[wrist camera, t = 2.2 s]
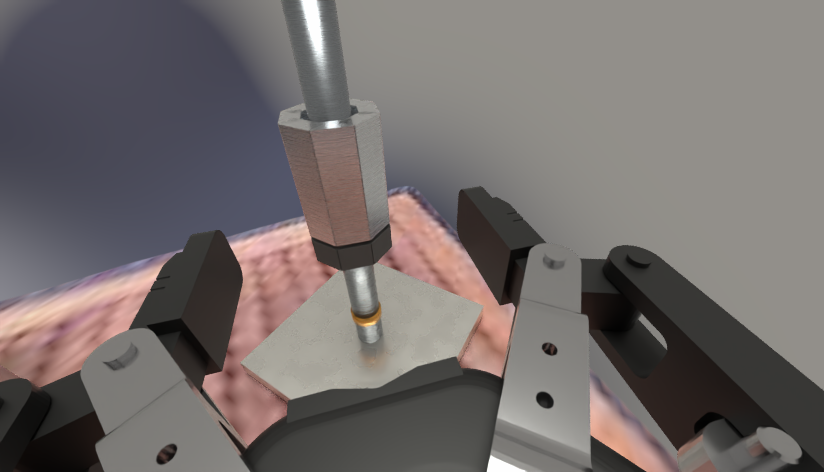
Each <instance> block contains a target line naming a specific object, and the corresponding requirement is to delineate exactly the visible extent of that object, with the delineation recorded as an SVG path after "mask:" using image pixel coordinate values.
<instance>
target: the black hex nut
mask: <svg viewBox="0 0 824 472" xmlns="http://www.w3.org/2000/svg"><path fill="white" fill-rule="evenodd" d="M311 238H312V243H313V246H314V250H315V253H316V257H317V260H318V261H320V262H322V263H324V264H327V265H329V266H331V267H333V268H336V269H338V270H340V271H345V270H350V269H356V268H361V267H366V266H371V265H374V264H376V263H377V262H378V260H379V259H380V258H381V257H382V256H383V255H384V254H385V253H386V252H387V251H388V250H389V249H390V248H391V247H392V241H391V230H390V224H388V225H387V226H386V227H385V228H383V229H382V230H381V231H380V232H379V233H378V234H377V235H376V236H375V237H374V238H373V239H372V240H370V241H364V242H359V243H353V244H348V245H342V246H337V245H336V246H333V245H331V244H328V243H326V242H323V241H321V240H318V239H316V238H314V237H311Z"/></svg>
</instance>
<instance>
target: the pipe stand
mask: <svg viewBox="0 0 824 472" xmlns="http://www.w3.org/2000/svg"><path fill="white" fill-rule="evenodd" d="M281 2H282V6H283V11H284V15H285V19H286V24H287V28H288V33H289V37H290V41H291V46H292V50H293V54H294V59H295V63H296V67H297V72H298V76H299V80H300V85H301V89H302V94H303V98H304V103H305V107H306V111H307V116H308V120H309V121H313V122H318V123H319V122H328V121H337V120H344V119H346V118H348V117H350V116H352V114H351V107H350V100H349V93H348V86H347V79H346V73H345V66H344V59H343V52H342V45H341V38H340V31H339V24H338V17H337V10H336V3H335V0H281ZM483 308H484V306H483V305H480V304H478V303H475V302H473V301H470V300H468V299H465V298H463V297H460V296H458V295H456V294H453V293H451V292H448V291H446V290H443V289H441V288H438V287H436V286H433V285H431V284H428V283H426V282H424V281H421V280H419V279H416V278H414V277H411V276H409V275H406V274H404V273H401V272H399V271H396V270H394V269H391V268H389V267H387V266H384V265H382V264H379V263H376V264H374V265H371V266H366V267H361V268H356V269H350V270H345V271H340V270H339V271H338V272H337V273H336V274H335V275H333V276H332V277H331V278H330V279H329V280H328V281H327V282H326V283H325V284H324V285H323V286H322V287H321V288H320V289H319V290H317V291H316V292H315V293H314V294H313V295H312V296H311V297H310V298H309V299H308V300H307V301H306V302H305V303H304V304H302V305H301V306H300V307H299V308H298V309H297V310H296V311H295V312H294V313H293V314H292V315H291V316H290V317H289V318H288V319H286V320H285V321H284V322H283V323H282V324H281V325H280V326H279V327H278V328H277V329H276V330H275V331H274V332H273V333H271V334H270V335H269V336H268V337H267V338H266V339H265V340H264V341H263V342H262V343H261V344H260V345H259V346H258V347H256V348H255V349H254V350H253V351H252V352H251V353H250V354H249V355H248V356H247V357H246V358H245V359H244V360H243V361H242V362H240V363H241V365H242V366H243V368H244V369H245V371H246V372H247V373H248V374H249V375H250V376H252V377H253V378H254V379H256V380H257V381H258V382H260V383H261V384H263V385H264V386H265V387H267V388H268V389H269V390H271V391H272V392H273V393H275V394H276V395H277V396H279V397H280V398H282V399H283V400H284V401H286V402H287V403H288V400H291V399H295V398H299V397H303V396H307V395H310V394H314V393H318V392H322V391H326V390H329V389H360V388H378V387H381V386H383V385H385V384H386V383H388V382H390V381H392V380H394V379H395V378H397V377H399V376H401V375H403V374H404V373H406V372H408V371H410V370H412V369H413V368H415V367H417V366H420V365H424V364H428V363H432V362H436V361H439V360H443V359H447V358H451V357H454V356H456V357H457V359H458V362H460V360H461V358H462V356H463V354H464V352H465V350H466V348H467V346H468V344H469V342H470V340H471V338H472V336H473V334H474V332H475V330H476V328H477V326H478V324H479V322H480V320H481V318H482V314H483Z"/></svg>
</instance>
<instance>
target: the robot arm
mask: <svg viewBox="0 0 824 472" xmlns="http://www.w3.org/2000/svg"><path fill="white" fill-rule="evenodd" d="M458 197H459V198H458V214H457V231H458V236H459V239H460V241H461V243H462V244H463V246H464V248H465V249H466V251H467V252H468V254H469V256H470V257H471V259H472V261H473V262H474V264H475V265H476V267H477V269H478V270H479V272H480V274H481V275H482V277H483V279H484V280H485V282H486V283H487V285H488V287H489V288H490V290H491V292H492V293H493V295H494V297H495V298H496V300H497V301H498V303H499V305H504V304H508V303H513V305H514V306H515V313H514V317H513V322H512V327H511V331H510V336H509V341H508V346H507V351H506V355H505V360H504V365H503V369H502V373H501V378H500V377H498V376H496V375H494V374H491V373H488V372H485V371H481V370H477V369H470V368H461V367H460V364H459V362H458V359H457V357H456V356H454V357H451V358H447V359H443V360H439V361H436V362H432V363H428V364H424V365H420V366H417V367H415V368H413V369H412V370H410V371H408V372H406V373H404V374H403V375H401V376H399V377H397V378H395V379H394V380H392V381H390V382H388V383H386V384H385V385H383V386H381V387H378V388H360V389H329V390H326V391H322V392H318V393H314V394H310V395H307V396H303V397H299V398H295V399H291V400H288V405H287V416H285V417H283V418H281V419H280V420H278V421H277V422H275V423H274V424H272V425H271V426H270V427H269V428H267V429H266V430H265V431H264V432H262V433H261V434H260V435H259V436H258V437H257V438H256V439H255V440H254V441H253V442H252V443H251V444H250V445H249V446H248V445H247V444H246V443H245V442H244V440H243V439H242V438H241V437H240V436H239V434H238V433H237V432H236V430H235V429H234V428H233V426H232V425H231V424H230V422H229V421H228V420H227V418H226V417H225V416H224V414H223V413H222V412H221V410H220V409H219V408H218V406H217V405H216V404H215V402H214V401H213V400H212V398H211V397H210V396H209V394H208V393H207V392H206V390H205V389H204V388H203V387H202V384H203V381H204V377H205V375H209V374H213V373H217V372H221V371H222V369H223V365H224V361H225V357H226V352H227V348H228V344H229V339H230V335H231V331H232V326H233V322H234V318H235V314H236V309H237V305H238V301H239V296H240V292H241V288H242V283H243V276H242V270H241V267H240V265H239V263H238V261H237V259H236V257H235V255H234V253H233V251H232V249H231V247H230V245H229V243H228V241H227V239H226V237H225V235H224V234H223V233H222V232H221V231H220V230H215V231H209V232H203V233H197V234H192V235H191V236H190V238H189V240H188V242H187V244H186V246H185V248H184V250H183V252H180V253H176V254H175V255H174V256H173V257H172V258H171V259H170V260H169V261H168V262H167V263H165V264H164V265H163V267H162V269H161V271H160V272H159V274H158V276H157V278H156V279H157V281H155V282H154V284H153V285H152V287H151V289H150V290H151V292H149V293H148V295H147V296H146V298H145V300H144V302H143V304H142V306H141V308H140V309H139V311H138V313H137V315H136V317H135V319H134V321H133V322H132V324H131V326H130V328H129V330H128V331H125V332H122V333H120V334H118V335H116V336H114V337H112V338H110V339H109V340H107V341H105V342H104V343H103V344H101V345H100V346H99V347H98V348H96V349H95V350H94V351H93V352H92V353H91V354H90V355H89V357H88V358H87V359H86V361H85V362H84V364H83V366H82V369H81V370H80V371H77V372H75V373H73V374H71V375H68V376H66V377H64V378H61V379H59V380H57V381H54V382H52V383H50V384H48V385H45V386H43V387H41V388H39V387H38V386H36V385H35V384H33V383H31V382H30V381H28V380H26V379H22V378H20V377H18V376H16V375H15V374H13V373H12V372H10V371H9V370H7V369H6V368H4V367H3V366H1V365H0V472H646V471H644V470H643V469H641V468H640V467H638V466H637V465H635V464H634V463H632V462H631V461H629V460H628V459H626V458H625V457H623V456H621V455H620V454H618V453H617V452H615V451H614V450H612V449H611V448H609V447H608V446H606V445H605V444H603V443H602V442H600V441H599V440H597V439H595V438H594V437H592V436H591V435H590V381H589V333H590V335H591V336H592V337H593V339H594V340H595V341H596V343H597V344H598V345H599V347H600V348H601V349H602V351H603V352H604V353H605V355H606V356H607V357H608V359H609V360H610V361H611V363H612V364H613V365H614V367H615V368H616V369H617V371H618V372H619V373H620V375H621V376H622V377H623V379H624V380H625V381H626V383H627V384H628V385H629V387H630V388H631V389H632V391H633V392H634V393H635V395H636V396H637V397H638V399H639V400H640V401H641V403H642V404H643V405H644V407H645V408H646V409H647V411H648V412H649V414H650V415H651V416H652V418H653V419H654V420H655V421H656V423H657V424H658V426H659V427H660V428H661V430H662V431H663V432H664V434H665V435H666V436H667V437H668V439H669V440H670V442H671V443H672V444H673V446H674V447H675V448H676V450H677V451H678V454H677V455H678V456H677V461H678V467H679V470H680V472H824V391H823V390H822V389H821V388H819V387H818V386H817V385H816V384H815V383H814V382H812V381H811V380H810V379H808V378H807V377H806V376H805V375H804V374H802V373H801V372H800V371H799V370H797V369H796V368H795V367H794V366H793V365H791V364H790V363H789V362H788V361H786V360H785V359H784V358H783V357H782V356H780V355H779V354H778V353H777V352H775V351H774V350H773V349H772V348H770V347H769V346H768V345H767V344H765V343H764V342H763V341H762V340H761V339H759V338H758V337H757V336H756V335H754V334H753V333H752V332H751V331H750V330H748V329H747V328H746V327H745V326H744V325H742V324H741V323H740V322H739V321H737V320H736V319H735V318H733V317H732V316H731V315H730V314H729V313H728V312H726V311H725V310H724V309H723V308H721V307H720V306H719V305H718V304H716V303H715V302H714V301H713V300H712V299H710V298H709V297H708V296H707V295H705V294H704V293H703V292H702V291H700V290H699V289H698V288H697V287H696V286H694V285H693V284H692V283H691V282H689V281H688V280H687V279H686V278H685V277H683V276H682V275H681V274H679V273H678V272H677V271H676V270H675V269H673V268H672V267H671V266H670V265H669V264H667V263H666V262H665V261H664V260H662V259H661V258H660V257H659V256H657V255H656V254H654V253H652V252H650V251H648V250H646V249H643V248H640V247H636V246H628V245H622V246H617V247H615V248H613V249H612V250H611V251H610V253H609V255H608V257H607V259H606V260H605V259H580V258H579V257H578V255H577V254H576V253H574V252H573V251H572V250H570V249H569V248H567V247H564V246H562V245H558V244H553V243H546V242H545V241H544V240H543V239H542V238H541V237H540V236H539V235H538V234H537V233H536V231H534V229H533V228H532V227H531V226H530V225H529V224H528V223H527V222H526V221H525V220H523V218H522V217H521V216H520V215H519V214H517V212H516V211H515V209H514V208H512V206H511V205H510V204H509V203H507V202H505V201H503V200H501V199H499V198H497V197H495V198H492V197H491V196H490V195H489V194H488V193H487V192H486V190H484V188H483V187H481V186H479V187H473V188H468V189H462V190H460V192H459V196H458ZM641 314H643V315H644V316H645V317H646V318H647V320H649V322H650V323H651V324H652V325H653V326H654V327H655V328H656V329H657V330H658V331H659V332H660V333H661V334H662V335H663V337H664V339H665V341H666V343H667V350H666V349H665V348H664V347H663V345H662V344H661V343H660V342H659V341H658V340H657V339H656V338H655V337H654V336H653V335H652V334H651V333H650V332H649V330H648V329H647V328H646V327H645V326H644V325H643V324H642V323H641V322H640V321H639V320H638V319H639V317H640V316H641Z"/></svg>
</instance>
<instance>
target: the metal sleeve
mask: <svg viewBox="0 0 824 472" xmlns="http://www.w3.org/2000/svg"><path fill="white" fill-rule="evenodd" d="M349 100H350V107H351V114H352V116H350V117H348V118H346V119H344V120H337V121H328V122H319V123H318V122H313V121H309V120H308V116H307V111H306V107H305V103H303V104H300V105H297V106H294V107H291V108H289V109H286V110H283V111H281V113H280V117H279V121H278V126H279V129H280V133H281V136H282V139H283V143H284V147H285V150H286V153H287V157H288V160H289V164H290V167H291V170H292V174H293V178H294V181H295V184H296V188H297V191H298V195H299V198H300V201H301V205H302V208H303V212H304V215H305V219H306V222H307V226H308V229H309V233H310V236H311V237H314V238H316V239H318V240H321V241H323V242H326V243H328V244H331V245H333V246H336V245H337V246H342V245H348V244H353V243H359V242H364V241H370V240H372V239H373V238H374V237H375V236H376V235H377V234H378V233H379V232H380V231H381V230H382V229H383V228H385V227H386V226H387V225H388V224H389V223H390V219H389V208H388V197H387V186H386V174H385V163H384V153H383V142H382V130H381V119H380V112H379V110H378V108H377V107H376V105H375V103H374V102H372V101H365V100H358V99H351V98H349Z"/></svg>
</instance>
